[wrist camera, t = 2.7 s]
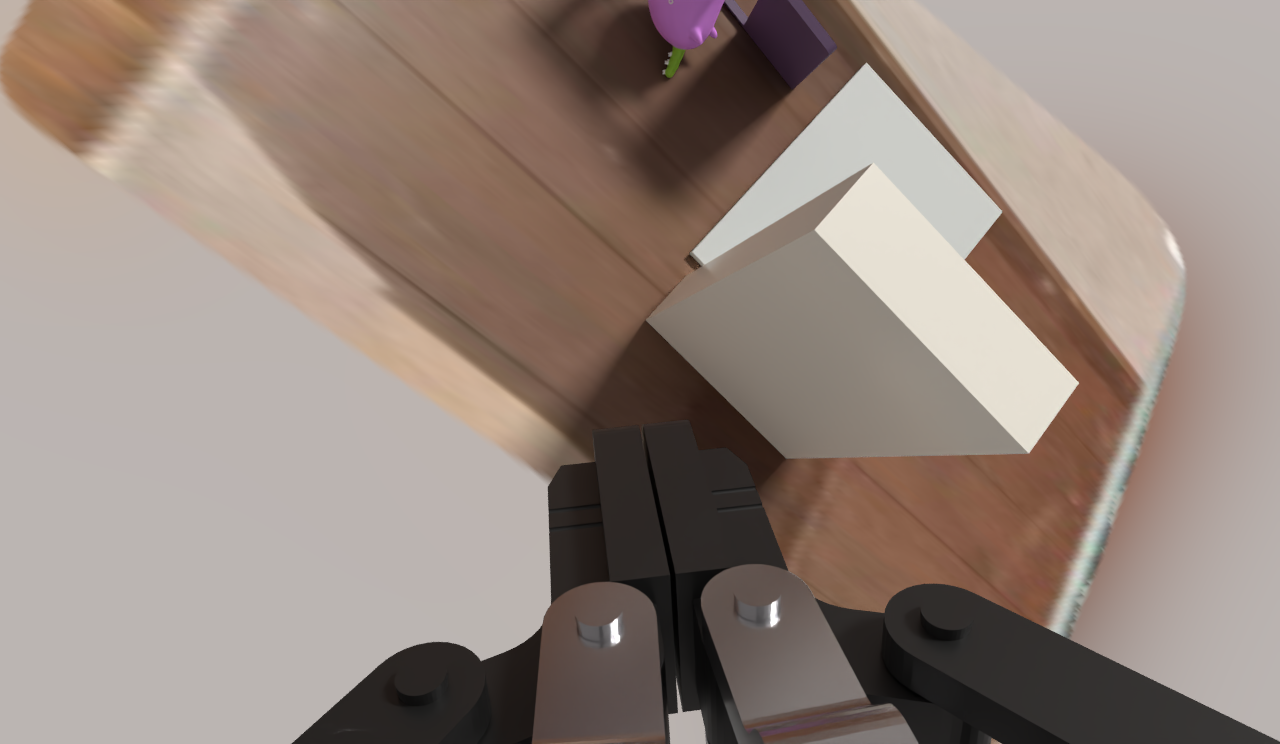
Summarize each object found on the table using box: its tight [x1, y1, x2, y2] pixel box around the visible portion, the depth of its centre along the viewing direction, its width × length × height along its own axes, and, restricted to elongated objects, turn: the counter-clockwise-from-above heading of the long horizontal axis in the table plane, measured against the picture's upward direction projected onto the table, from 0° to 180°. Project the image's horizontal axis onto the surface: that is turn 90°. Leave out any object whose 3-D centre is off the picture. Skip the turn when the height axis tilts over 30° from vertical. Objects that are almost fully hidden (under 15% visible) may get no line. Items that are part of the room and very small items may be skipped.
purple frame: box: [648, 0, 837, 89], centre depth 34 cm, size 7×5×9 cm
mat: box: [690, 63, 1002, 266], centre depth 38 cm, size 9×12×1 cm
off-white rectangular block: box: [646, 162, 1079, 459], centre depth 29 cm, size 8×3×14 cm, turn 47°
